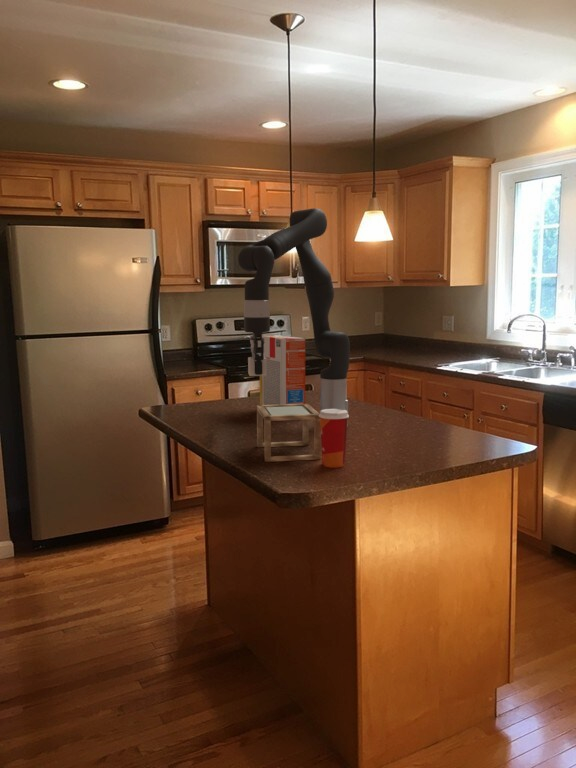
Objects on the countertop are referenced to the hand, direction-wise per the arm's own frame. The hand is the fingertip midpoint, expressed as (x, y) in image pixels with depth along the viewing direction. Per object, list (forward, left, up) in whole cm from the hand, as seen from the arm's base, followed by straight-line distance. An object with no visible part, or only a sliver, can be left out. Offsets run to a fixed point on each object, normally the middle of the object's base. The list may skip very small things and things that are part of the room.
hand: (257, 373), depth 192 cm
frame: (-8, +6, -23) cm, 25 cm away
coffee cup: (-18, +22, -23) cm, 37 cm away
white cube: (0, 0, 0) cm, 1 cm away
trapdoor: (-8, +6, -12) cm, 15 cm away
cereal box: (-16, -55, -23) cm, 62 cm away
